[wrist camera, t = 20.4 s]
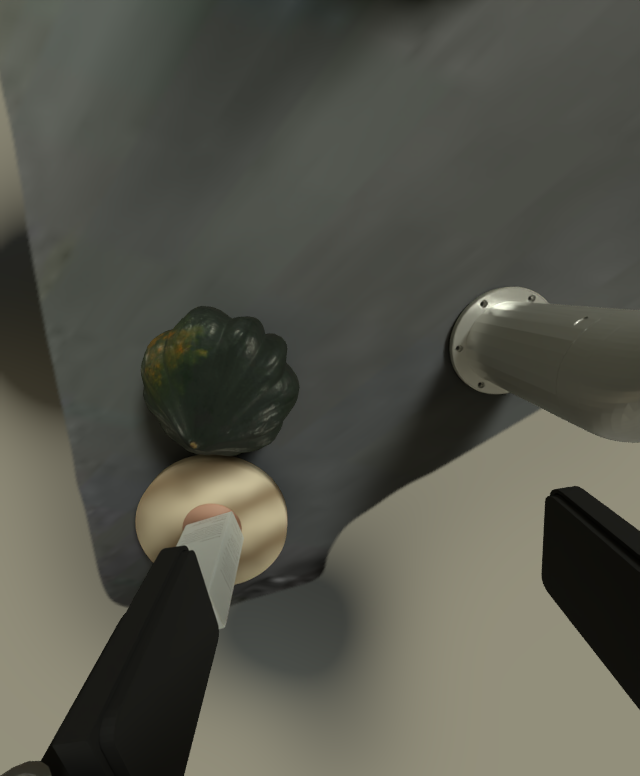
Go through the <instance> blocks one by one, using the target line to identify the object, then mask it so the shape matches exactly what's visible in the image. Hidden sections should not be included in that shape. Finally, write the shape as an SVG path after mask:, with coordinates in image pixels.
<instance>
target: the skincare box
mask: <svg viewBox="0 0 640 776" xmlns="http://www.w3.org/2000/svg"><path fill="white" fill-rule="evenodd" d="M243 540H244V537H243V534H242V532H241V529H240V527H239V525H238V523H237V520H236V518H235V516H234V514H233V512H232V511H231V512H227V513H224V514H221V515H217V516H214V517H211V518H208V519H204V520H201V521H198V522H194V523H191V524H188V525H186V526H185V528H184V530H183V532H182V535H181V537H180V539H179V541H178V543H177V545H176V546H183V545H185V546H187V547H188V549H189V550H193V551H194V552H195V554H196V557H197V560H198V563H199V566H200V569H201V572H202V575H203V578H204V582H205V585H206V588H207V591H208V594H209V597H210V600H211V603H212V607H213V610H214V613H215V616H216V619H217V622H218V626H219V629H222V628H225V626H226V622H227V617H228V612H229V607H230V602H231V598H232V593H233V588H234V583H235V578H236V573H237V569H238V564H239V559H240V555H241V550H242V545H243Z"/></svg>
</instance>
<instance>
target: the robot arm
mask: <svg viewBox="0 0 640 776" xmlns="http://www.w3.org/2000/svg"><path fill="white" fill-rule="evenodd" d="M481 302H482V304H481V306H480V303H481ZM457 346H458V348H457V349H456V347H457ZM449 352H450V359H451V363H452V365H453V368H454V370H455V372H456V373H457V375H458V377H459V378H460V379H461V380H462V381H463V382H464V383H466V384H467V385H469V386H470V387H472V388H473V389H475V390H477V391H480V392H483V393H487V394H506V393H510V392H511V393H513V394H515V395H516V396H518V397H520V398H522V399H524V400H526V401H528V402H530V403H532V404H534V405H536V406H538V407H540V408H542V409H544V410H546V411H548V412H550V413H552V414H554V415H556V416H558V417H560V418H562V419H564V420H566V421H568V422H570V423H572V424H574V425H576V426H578V427H580V428H582V429H584V430H586V431H588V432H590V433H592V434H595V435H597V436H600V437H603V438H606V439H610V440H614V441H620V442H632V443H639V442H640V310H629V309H615V308H601V307H587V306H573V305H560V304H549V303H548V302H547V301H546V299H545V298H543V297H542V296H541V295H539V294H538V293H536V292H534V291H532V290H530V289H526V288H521V287H503V288H497V289H494V290H491V291H488V292H486V293H484V294H482V295H480V296H479V297H477V298H476V299H475V300H473V301H472V302H471V303H470V304H469V305H468V306H467V307H466V308H465V309H464V310H463V311H462V313H461V314H460V316H459V318H458V319H457V321H456V323H455V325H454V328H453V330H452V334H451V338H450V347H449ZM478 383H479V384H478ZM542 581H543V584H544V586H545V588H546V590H547V592H548V593H549V594H550V595H551V597H552V598H553V600H554V601H555V602H556V603H557V605H558V606H559V607H560V609H561V610H562V611H563V612H564V614H565V615H566V616H567V617H568V619H569V620H570V621H571V623H572V624H573V625H574V626H575V628H576V629H577V630H578V632H580V634H581V635H582V637H583V638H584V639H585V641H586V642H587V643H588V644H589V645H590V647H591V648H592V649H593V651H594V652H595V653H596V655H597V656H598V657H599V658H600V660H601V661H602V662H603V663H604V665H605V666H606V667H607V669H608V670H609V671H610V672H611V674H612V675H613V676H614V678H615V679H616V680H617V681H618V683H619V684H620V685H621V686H622V688H623V689H624V690H625V692H626V693H627V694H628V695H629V697H630V698H631V699H632V701H633V702H634V703H635V704H636V706H637V707H638V708H639V709H640V531H639V530H637V529H636V528H635V527H634V526H632V525H631V524H629V523H628V522H627V521H625V520H624V519H622V518H621V517H620V516H619V515H617V514H616V513H615V512H613V511H612V510H610V509H609V508H608V507H607V506H605V505H604V504H602V503H601V502H600V501H598V500H597V499H596V498H594V497H593V496H591V495H590V494H589V493H588V492H586V491H585V490H584V489H582V488H580V487H577V486H573V487H566V488H560V489H554V490H552V491H551V493H550V496H548V497H547V498H546V501H545V517H544V537H543V557H542ZM218 637H219V626H218V622H217V619H216V616H215V613H214V610H213V607H212V603H211V600H210V597H209V594H208V591H207V588H206V585H205V582H204V578H203V575H202V572H201V569H200V566H199V563H198V560H197V557H196V554H195V552H194V551H193V550H189V549H188V547H187V546H185V545H183V546H176V547H170V548H164V549H162V550H161V551H160V553H159V554H158V556H157V558H156V560H155V561H154V563H153V565H152V567H151V569H150V570H149V572H148V574H147V576H146V578H145V579H144V581H143V583H142V585H141V587H140V588H139V590H138V592H137V594H136V596H135V597H134V599H133V601H132V603H131V605H130V606H129V608H128V610H127V612H126V613H125V614H124V615H123V617H122V618H121V620H120V621H119V623H118V625H117V626H116V628H115V630H114V632H113V634H112V635H111V637H110V639H109V641H108V643H107V644H106V646H105V648H104V650H103V651H102V653H101V655H100V657H99V659H98V660H97V662H96V664H95V666H94V667H93V669H92V671H91V673H90V674H89V676H88V678H87V680H86V682H85V683H84V685H83V687H82V689H81V690H80V692H79V694H78V696H77V698H76V699H75V701H74V703H73V705H72V706H71V708H70V710H69V712H68V714H67V715H66V717H65V719H64V721H63V723H62V724H61V726H60V728H59V730H58V731H57V733H56V735H55V737H54V739H53V740H52V742H51V744H50V746H49V747H48V749H47V751H46V753H45V755H44V756H43V758H42V760H41V761H28V762H25V763H23V764H20V765H18V766H15V767H13V768H11V769H10V770H8V771H7V772H5V773H4V774H2V775H1V776H184V773H185V769H186V765H187V761H188V757H189V753H190V749H191V745H192V742H193V738H194V734H195V729H196V726H197V722H198V718H199V714H200V710H201V706H202V702H203V698H204V694H205V690H206V686H207V682H208V678H209V674H210V670H211V666H212V662H213V659H214V654H215V651H216V646H217V643H218Z"/></svg>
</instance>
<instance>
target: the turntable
mask: <svg viewBox="0 0 640 776" xmlns="http://www.w3.org/2000/svg"><path fill="white" fill-rule="evenodd" d="M231 511H232V512H233V514H234V516H235V518H236V520H237V523H238V525H239V527H240V529H241V532H242V534H243V537H244V540H243V545H242V550H241V555H240V559H239V564H238V569H237V573H236V578H235V583H234V585H235V584H239V583H242V582H245V581H247V580H250V579H252V578H254V577H255V576H257V575H259V574H261V573H262V572H263V571H265V570H266V569H267V568H268V567H269V566H270V565H271V564H272V563H273V562H274V561H275V560H276V558H277V557H278V555H279V554H280V552H281V550H282V548H283V545H284V543H285V539H286V534H287V507H286V503H285V499H284V497H283V495H282V492H281V491H280V489H279V487H278V486H277V484H276V483H275V482H274V481H273V479H272V478H271V477H270V476H269V475H268V474H267V473H265V472H264V471H263V470H261V469H260V468H259V467H257V466H255V465H254V464H252V463H250V462H248V461H245V460H243V459H241V458H237V457H234V456H223V455H213V454H212V455H196V456H191V457H188V458H184V459H182V460H180V461H177V462H175V463H173V464H172V465H170V466H169V467H167V468H166V469H164V470H163V471H162V472H161V473H160V474H159V475H158V476H157V477H156V478H155V479H154V480H153V482H152V483H151V484H150V486H149V487H148V488H147V490H146V491H145V493H144V494H143V496H142V498H141V500H140V502H139V504H138V508H137V512H136V521H135V523H136V532H137V536H138V539H139V542H140V544H141V547H142V548H143V550H144V552H145V553H146V555H147V556H148V557H149V558H150V560H151V561H152V562H153V563H154V561H155V560H156V558H157V556H158V554H159V553H160V551H161V550H162V549H164V548H170V547H176V545H177V543H178V541H179V539H180V537H181V535H182V532H183V530H184V528H185V526H186V525H188V524H191V523H194V522H198V521H201V520H204V519H208V518H211V517H214V516H217V515H221V514H224V513H227V512H231Z"/></svg>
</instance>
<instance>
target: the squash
mask: <svg viewBox="0 0 640 776" xmlns="http://www.w3.org/2000/svg"><path fill="white" fill-rule="evenodd" d="M286 355H287V345H286V342H285V341H284V340H283V339H282V338H281V337H280V336H278V335H276V334H265V331H264V328H263V326H262V324H261V322H260V321H259V320H258V319H256V318H254V317H237V318H233V319H232V318H230V317H229V316H228V315H226V314H225V313H224V312H222V311H221V310H219V309H216V308H213V307H206V306H200V307H197V308H195V309H193V310H191V311H190V312H189V313H188V314H187V315H186V316H185V317H184V318H183V319H181V321H180V322H179V323H178V324H177V325H176V326H175V327H174V328H173V329H171V330H168V331H166V332H164V333H162V334H160V335H159V336H157V337H156V338H154V339H153V340H152V341H151V342H150V344H149V345H148V347H147V350H146V352H145V354H144V358H143V361H142V365H141V376H142V380H143V383H144V391H143V396H144V400H145V402H146V405H147V407H148V409H149V410H150V411H151V413H152V414H154V415H155V416H156V418H157V419H158V420H159V422H160V425H161V426H162V428H163V430H164V431H165V433H166V434H167V435H168V436H169V437H170V438H171V439H172V440H174V441H175V442H177V443H179V444H180V445H181V446H182V447H183V448H184V449H186V450H187V451H189V452H192V453H196V454H199V455H212V454H213V455H223V456H234V455H238V454H240V453H245V452H252V451H255V450H258V449H260V448H262V447H264V446H266V445H268V444H270V443H271V442H272V441H273V440H274V439H275V438H276V436H277V434H278V433H279V431H280V429H281V427H282V424H283V420H284V419H285V418H286V416H287V415H288V414H289V412H290V411H291V409H292V408H293V406H294V405H295V403H296V401H297V397H298V392H299V382H298V378H297V376H296V374H295V373H294V371H293V370H292V369H291V367H290V366H289V365H288V364H287V363H286Z"/></svg>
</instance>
